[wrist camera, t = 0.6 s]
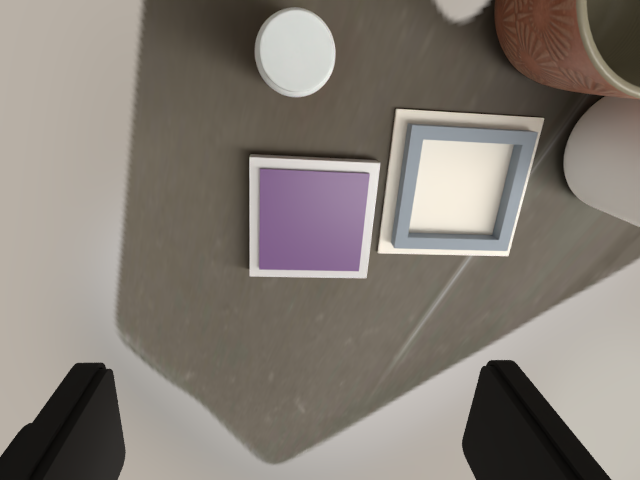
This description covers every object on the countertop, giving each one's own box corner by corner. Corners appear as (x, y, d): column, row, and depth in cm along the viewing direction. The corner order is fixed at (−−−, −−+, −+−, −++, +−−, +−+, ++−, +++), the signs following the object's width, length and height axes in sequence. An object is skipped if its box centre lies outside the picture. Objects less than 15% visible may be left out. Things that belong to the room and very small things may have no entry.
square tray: (395, 108, 31) (401, 110, 29) (542, 117, 32) (553, 119, 31) (377, 251, 35) (381, 258, 34) (506, 254, 37) (515, 261, 35)
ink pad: (250, 154, 31) (249, 157, 30) (376, 160, 32) (381, 164, 31) (250, 269, 35) (249, 278, 34) (363, 271, 36) (367, 279, 35)
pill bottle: (273, 102, 30) (271, 112, 22) (249, 34, 28) (236, 19, 20) (334, 80, 30) (352, 82, 22) (313, 10, 28) (325, -14, 20)
